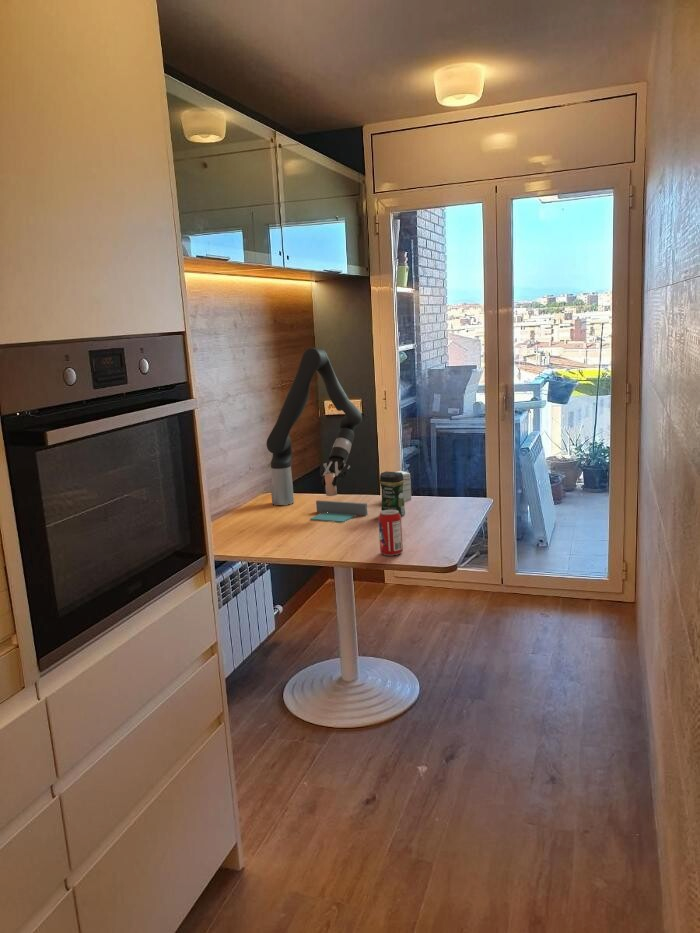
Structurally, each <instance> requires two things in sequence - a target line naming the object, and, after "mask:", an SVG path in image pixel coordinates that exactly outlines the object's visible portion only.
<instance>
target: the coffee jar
mask: <svg viewBox="0 0 700 933" xmlns="http://www.w3.org/2000/svg"><path fill="white" fill-rule="evenodd" d="M403 483H404V479H403V474H402V473H400V472H397V471H388V470H387V471H383V472H381V473H380V474H379V484H380V488H381V509H380V512H381V511H383V510H390V509H392V510H398V511H399V514H400V515H401V518H403V516H404V515H405V514H406V508H405V502H404V498H403Z"/></svg>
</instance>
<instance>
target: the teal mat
mask: <svg viewBox="0 0 700 933" xmlns="http://www.w3.org/2000/svg"><path fill="white" fill-rule="evenodd" d="M355 517H357V515H355V514H341V513H327V512H323V513H319V514H317V515H315V516H312V517H310V518H309V520H310V519H311V520H310V521H316V520H322V521H321V522H328V521H335V522H334V523H341V522H344V523H346V522H348V521H349V520H351V519H353V518H355ZM347 520H348V521H347ZM345 521H346V522H345Z"/></svg>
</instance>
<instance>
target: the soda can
mask: <svg viewBox="0 0 700 933" xmlns="http://www.w3.org/2000/svg"><path fill="white" fill-rule="evenodd" d="M378 535H379V536H378V537H379V550H380V553H381V554H382V555H384V556H387V557H395V556H394V555H396V556H399V555H400V554H402V552H403V551H404V548H403V546H404V545H403V528H402V517H401V515H400V514H399V511H398V510H392V509H390V510H383V511H381V510H380V512H379V515H378ZM398 554H399V555H398Z"/></svg>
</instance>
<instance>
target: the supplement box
mask: <svg viewBox="0 0 700 933" xmlns="http://www.w3.org/2000/svg"><path fill="white" fill-rule="evenodd" d="M396 472H400V473H402V474H403V479H404V483H403V498H404V501H405V502H408V501H409V500H410V501H412V486H411V485H412V484H411V483H412V482H411V473H410V472H407V471H403V470H398V471H396Z"/></svg>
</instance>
